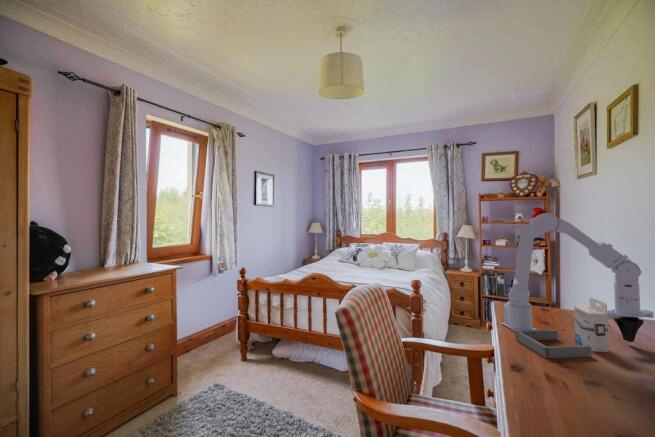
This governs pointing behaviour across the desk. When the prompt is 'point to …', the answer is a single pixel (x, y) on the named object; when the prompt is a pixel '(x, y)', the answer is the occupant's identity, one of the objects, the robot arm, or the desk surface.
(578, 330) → the ink box
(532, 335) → the frame
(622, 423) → the desk surface
